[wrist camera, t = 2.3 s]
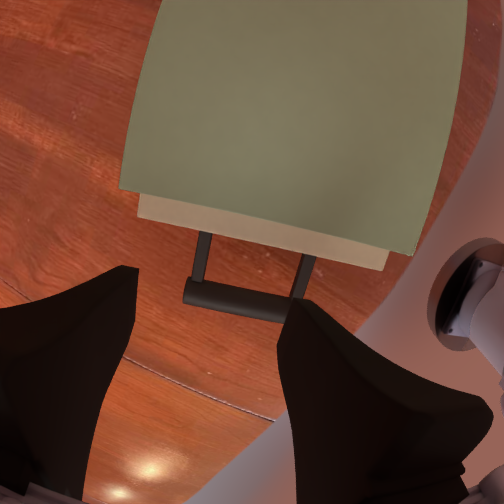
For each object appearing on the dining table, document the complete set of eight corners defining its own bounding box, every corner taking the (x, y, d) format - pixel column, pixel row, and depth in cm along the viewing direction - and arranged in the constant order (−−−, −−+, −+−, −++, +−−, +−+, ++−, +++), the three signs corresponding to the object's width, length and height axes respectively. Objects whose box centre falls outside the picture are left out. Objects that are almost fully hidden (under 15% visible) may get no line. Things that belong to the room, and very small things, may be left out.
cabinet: (352, 208, 20) (413, 257, 12) (171, 165, 19) (117, 189, 11) (397, 19, 15) (468, -25, 7) (223, -29, 14) (209, -107, 6)
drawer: (319, 294, 21) (345, 359, 15) (162, 261, 20) (127, 317, 14) (389, 40, 15) (446, 8, 9) (222, -6, 14) (210, -64, 8)
